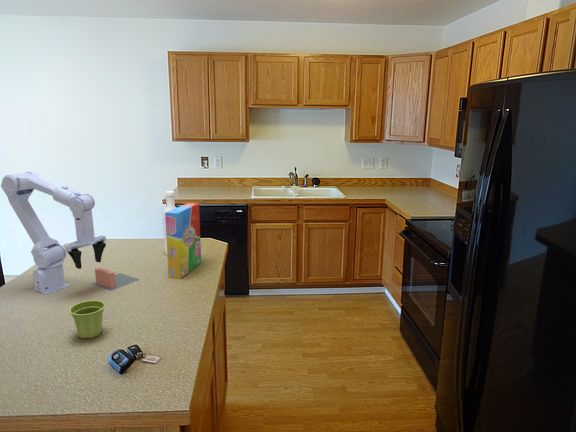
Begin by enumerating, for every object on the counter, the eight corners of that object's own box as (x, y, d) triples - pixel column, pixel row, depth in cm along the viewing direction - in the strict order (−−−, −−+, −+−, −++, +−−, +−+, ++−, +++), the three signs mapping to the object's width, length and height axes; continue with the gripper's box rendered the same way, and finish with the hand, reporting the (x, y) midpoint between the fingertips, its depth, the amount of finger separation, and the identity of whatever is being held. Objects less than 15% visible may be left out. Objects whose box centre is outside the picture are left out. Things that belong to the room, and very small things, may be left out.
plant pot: (98, 322, 126) (95, 297, 124) (113, 332, 120) (110, 306, 118) (67, 334, 119) (63, 307, 117) (81, 345, 113) (78, 317, 111)
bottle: (164, 251, 193) (160, 190, 186) (181, 250, 196) (178, 189, 188) (165, 257, 186) (161, 193, 179) (182, 255, 188) (179, 192, 181)
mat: (110, 291, 148) (110, 290, 148) (91, 284, 154) (91, 283, 154) (139, 280, 159) (139, 279, 159) (120, 273, 165) (120, 273, 165)
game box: (180, 279, 160) (177, 213, 154) (168, 278, 161) (163, 212, 155) (201, 262, 180) (199, 202, 174) (190, 261, 181) (187, 202, 175)
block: (111, 288, 150) (109, 273, 149) (96, 283, 155) (94, 269, 153) (115, 287, 152) (114, 272, 150) (101, 281, 156) (99, 267, 155)
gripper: (71, 235, 135) (76, 273, 138) (109, 226, 147) (113, 261, 150) (59, 232, 138) (64, 269, 141) (97, 223, 150) (101, 257, 153)
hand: (88, 264), depth 146 cm, fingers open, 7 cm apart
